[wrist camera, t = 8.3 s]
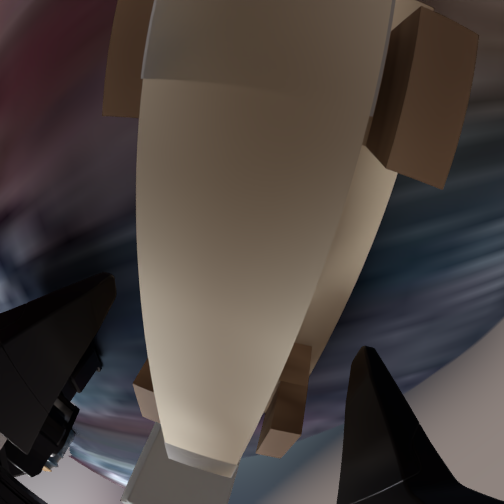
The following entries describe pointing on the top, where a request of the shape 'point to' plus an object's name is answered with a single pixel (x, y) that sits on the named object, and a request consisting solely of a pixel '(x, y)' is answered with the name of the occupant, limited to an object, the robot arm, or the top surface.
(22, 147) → the top surface
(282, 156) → the rail
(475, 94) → the top surface
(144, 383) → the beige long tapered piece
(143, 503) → the supplement box
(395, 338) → the top surface
